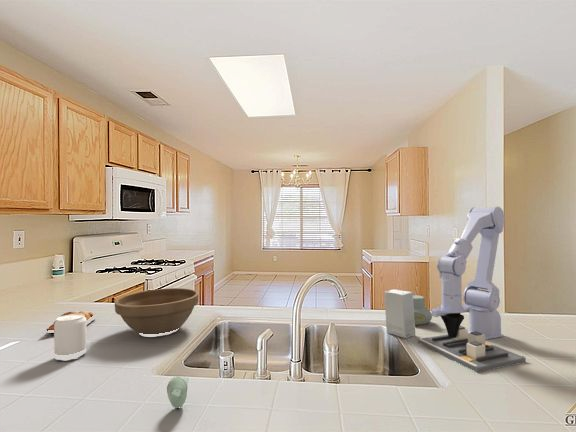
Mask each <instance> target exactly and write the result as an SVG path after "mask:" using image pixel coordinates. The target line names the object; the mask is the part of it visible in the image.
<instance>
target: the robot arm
mask: <svg viewBox="0 0 576 432" xmlns="http://www.w3.org/2000/svg"><path fill="white" fill-rule="evenodd" d="M505 220H506V216H505V213H504V210H503V209H502V208H501V206H493V207H492V206H491V207H488V206H487V207H471V208H470V209H469V210H468V212H467V214H466V221H467V222H466V225H465V227H464V229H463V232H462V234H461V236H460V238H455V239H454V241H453V243H452V244H451V246H450V247H449V249H448V251H447V252H446V254H445V255H443V256H441V257H440V258H439V259H438V262H437V264H436V267H437V268H436V269H437V271H438V273H439V278H440V280H441V305H439V307H436V308H433V309H431V311H430V312H431V315H432V317H434V318H439V317H441V320H442V321H443V323H444V326H445V328H446V332H447V334H448V336H449V337H452V338H456V336H457V333H458V329H459V326H461V325H462V322H463V320H464V319H465V315H463V313H464V314H465V313H469V315H468V317H469V318H468V319H469V321H468V322H469V323H468V325H469V329H468V333H471V332H475V331H477V332H480V333H482V334H484V335H485V340H489V339H490V340H491V339H495V338H501V337H504V334H502V318H501V314H500V312H499V311H498V310H497V309H498V308H499V306H500V304H501V301H500V300H501V299H500V289H499V288H498V287H497V285H495V284H494V282H492V281H493V276H494V268H495V264H496V258H497V257H496V256H497V251H498V250H497V249H498V244H499V237H500V234H501V233H503V231H504V225H505ZM478 234H480V236H481V239H480V242H479V243H480V244H479V249H478V255H477V261H476V268H475V273H474V274H475V275H474V278H473V279H472V280H470V281H468V282H467V283H466V287H465V289H464V291H463V290H462V287H463V286H462V275H463V274H464V273H465V271H466V267H467V259H468V258H469V255H470V254H471V252H472V250H473V248H474V247H473V245H472V242H473V241H474V240H475V238H476V237H477V236H478ZM462 291H463V292H462ZM463 302H464V305H463Z"/></svg>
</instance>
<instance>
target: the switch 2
mask: <svg viewBox="0 0 576 432" xmlns="http://www.w3.org/2000/svg"><path fill="white" fill-rule="evenodd" d="M467 356H469V357H471V358H473V359H475V360H477V358H479V357H484V356H485V345H483V344H482V343H479V342H477V341H473V342H469V343H467Z"/></svg>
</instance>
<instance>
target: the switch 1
mask: <svg viewBox="0 0 576 432" xmlns="http://www.w3.org/2000/svg"><path fill="white" fill-rule="evenodd" d="M468 330H469V329H468V328H466V327H464V326H462V325H460V326H459V329H458V333H457V336H456V338H453V339H455V340H461V339H467V338H468Z"/></svg>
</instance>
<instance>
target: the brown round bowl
mask: <svg viewBox="0 0 576 432" xmlns="http://www.w3.org/2000/svg"><path fill="white" fill-rule="evenodd" d="M198 303H199V292H198V291H197V290H195V289H190V288H178V287H176V288H175V287H173V288H172V287H171V288H169V287H168V288H159V289H158V288H157V289H155V288H154V289H149V290H143V291H136V292H133V293H129V294H125V295H123V296H121V297H118V298H116V299H115V301H114V312H115V313H116V314H117V315H118V316H120V317H121V318H122V320H123V322H124V323H125V324H126V325H127V326H128V327H129V328H130V329H131V330H132V331H133V332H134V333H136V332H138V333H143V334H159V333H165V332H170V331H173V330H176V329H178V328H182V326H183V325H184V324H185V323H186V322H187V320H188V318H189V317H190V316H191V315H192V312H193V310H194V308H195V306H197V305H198ZM138 333H137V334H138Z"/></svg>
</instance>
